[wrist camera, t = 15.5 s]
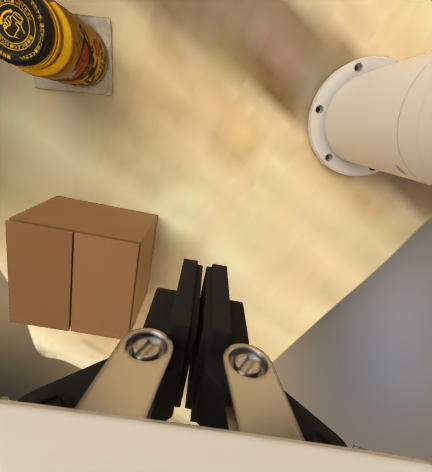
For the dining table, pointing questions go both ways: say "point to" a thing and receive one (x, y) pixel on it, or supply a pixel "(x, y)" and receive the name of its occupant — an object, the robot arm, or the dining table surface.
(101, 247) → the flap
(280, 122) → the dining table surface
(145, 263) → the carton
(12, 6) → the condiment
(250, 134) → the dining table surface
